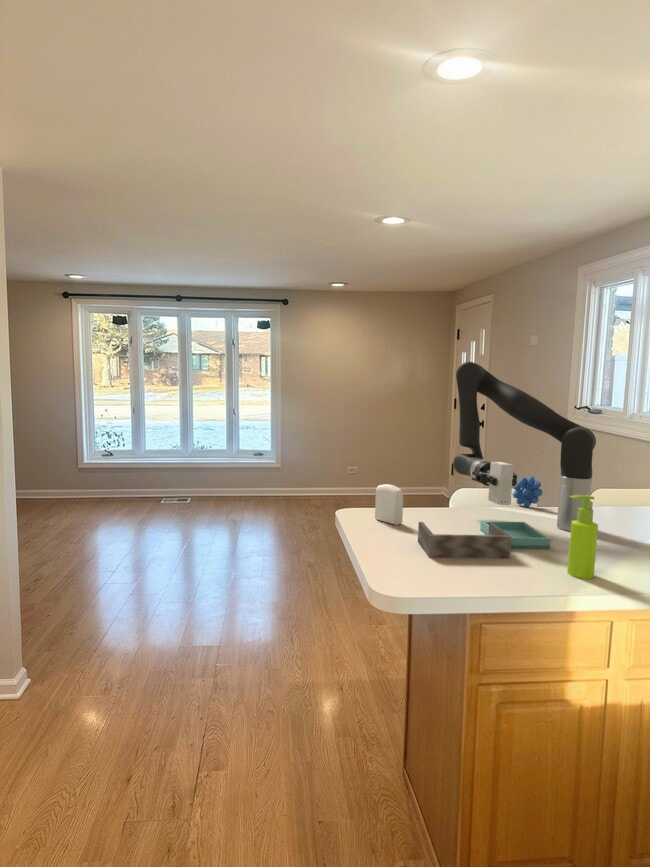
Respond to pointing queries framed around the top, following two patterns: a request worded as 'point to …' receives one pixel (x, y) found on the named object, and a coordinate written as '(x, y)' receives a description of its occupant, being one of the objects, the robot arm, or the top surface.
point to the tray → (520, 534)
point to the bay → (465, 544)
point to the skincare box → (501, 483)
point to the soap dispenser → (583, 541)
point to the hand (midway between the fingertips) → (505, 482)
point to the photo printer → (389, 504)
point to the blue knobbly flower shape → (527, 491)
